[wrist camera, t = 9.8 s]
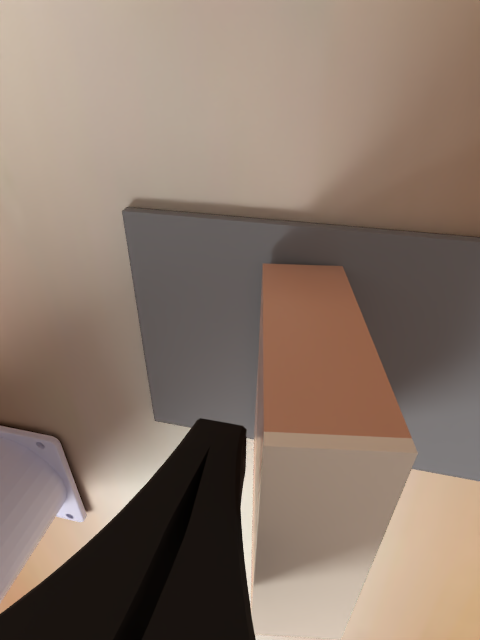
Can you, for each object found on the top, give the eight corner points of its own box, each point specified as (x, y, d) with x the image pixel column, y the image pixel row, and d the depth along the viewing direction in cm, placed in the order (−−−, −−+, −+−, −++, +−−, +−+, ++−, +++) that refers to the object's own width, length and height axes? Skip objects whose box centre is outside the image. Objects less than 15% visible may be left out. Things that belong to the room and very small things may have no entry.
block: (254, 434, 17) (250, 634, 11) (262, 263, 12) (264, 445, 6) (312, 436, 17) (340, 640, 11) (342, 265, 12) (418, 453, 6)
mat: (158, 414, 19) (154, 420, 18) (127, 207, 13) (122, 210, 13) (581, 491, 15) (586, 501, 15) (776, 262, 10) (790, 269, 10)
